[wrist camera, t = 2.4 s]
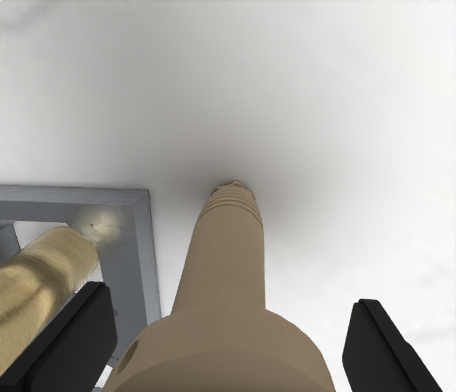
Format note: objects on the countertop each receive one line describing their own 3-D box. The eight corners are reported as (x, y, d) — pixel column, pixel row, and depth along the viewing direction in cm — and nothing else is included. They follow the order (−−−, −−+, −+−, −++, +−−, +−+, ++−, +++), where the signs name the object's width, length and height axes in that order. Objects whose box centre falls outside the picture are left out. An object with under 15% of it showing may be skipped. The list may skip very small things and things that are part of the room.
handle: (182, 209, 20) (44, 455, 6) (236, 146, 18) (207, 304, 4) (229, 245, 21) (199, 530, 7) (285, 189, 19) (393, 435, 5)
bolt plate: (-36, 183, 21) (-80, 197, 18) (148, 190, 20) (132, 205, 17) (40, 391, 30) (18, 422, 27) (169, 402, 29) (161, 435, 26)
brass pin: (35, 225, 22) (-124, 321, 12) (93, 228, 21) (-25, 328, 12) (49, 274, 24) (-81, 391, 14) (102, 277, 23) (6, 398, 14)
